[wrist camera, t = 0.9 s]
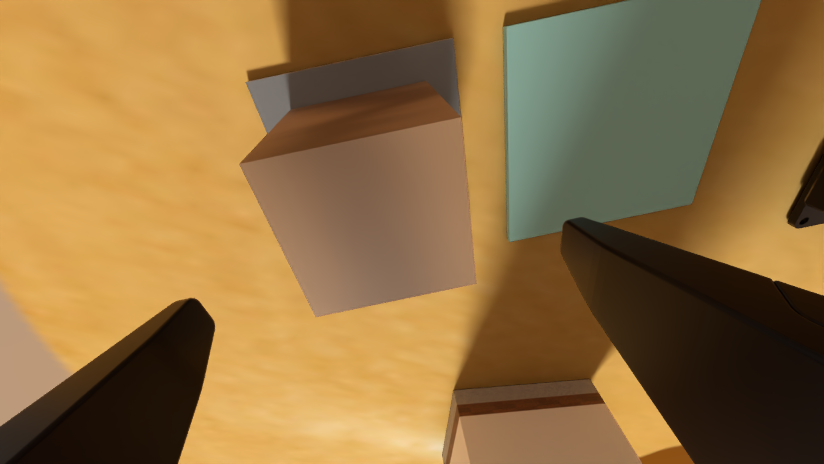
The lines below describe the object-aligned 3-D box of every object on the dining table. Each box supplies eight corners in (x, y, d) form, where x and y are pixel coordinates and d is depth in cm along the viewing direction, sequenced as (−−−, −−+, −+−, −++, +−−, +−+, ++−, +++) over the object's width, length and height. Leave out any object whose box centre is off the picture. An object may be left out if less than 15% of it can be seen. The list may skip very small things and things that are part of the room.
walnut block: (425, 80, 13) (461, 116, 8) (442, 201, 16) (476, 283, 11) (290, 109, 13) (239, 164, 8) (333, 224, 16) (315, 317, 11)
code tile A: (451, 37, 12) (453, 38, 12) (468, 214, 17) (470, 217, 17) (248, 81, 13) (245, 82, 12) (317, 246, 17) (316, 249, 17)
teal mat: (760, -29, 12) (772, -30, 12) (685, 200, 18) (691, 204, 17) (502, 26, 12) (506, 26, 12) (506, 237, 18) (509, 242, 18)
